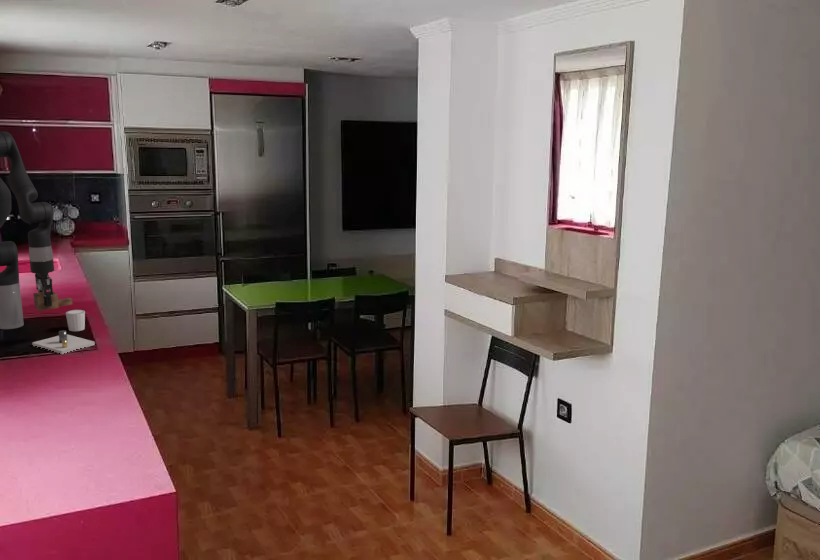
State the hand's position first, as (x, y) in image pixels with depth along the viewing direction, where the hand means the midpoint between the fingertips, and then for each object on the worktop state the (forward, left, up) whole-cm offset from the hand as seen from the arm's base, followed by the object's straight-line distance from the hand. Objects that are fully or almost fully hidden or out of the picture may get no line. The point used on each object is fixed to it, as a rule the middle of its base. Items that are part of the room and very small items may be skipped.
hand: (45, 304), depth 262 cm
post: (+7, +1, -13) cm, 15 cm away
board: (+7, +1, -14) cm, 16 cm away
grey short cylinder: (-7, +16, -14) cm, 22 cm away
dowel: (+13, -3, -13) cm, 19 cm away
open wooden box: (+1, +3, -1) cm, 3 cm away
